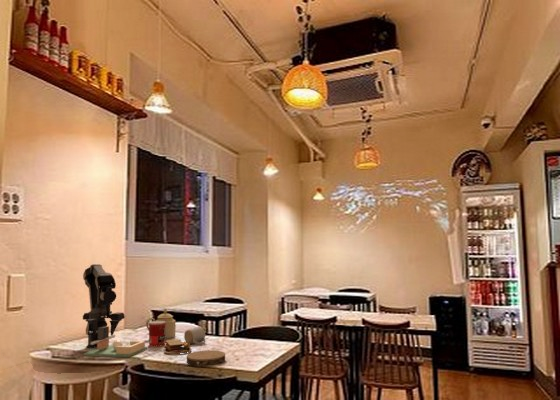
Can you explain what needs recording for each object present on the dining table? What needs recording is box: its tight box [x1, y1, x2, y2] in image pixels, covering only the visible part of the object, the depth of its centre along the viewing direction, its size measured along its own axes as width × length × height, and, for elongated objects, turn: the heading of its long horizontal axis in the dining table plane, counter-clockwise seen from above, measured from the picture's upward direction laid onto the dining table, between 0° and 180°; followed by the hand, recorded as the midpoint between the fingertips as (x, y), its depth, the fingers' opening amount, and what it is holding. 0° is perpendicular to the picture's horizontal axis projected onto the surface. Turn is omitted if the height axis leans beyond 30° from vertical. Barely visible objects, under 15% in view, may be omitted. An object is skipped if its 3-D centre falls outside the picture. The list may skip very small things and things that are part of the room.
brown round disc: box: [186, 349, 226, 367], centre depth 188 cm, size 16×16×3 cm
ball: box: [111, 339, 123, 350], centre depth 207 cm, size 4×4×4 cm
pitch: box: [83, 340, 148, 358], centre depth 207 cm, size 22×16×4 cm
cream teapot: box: [145, 308, 177, 340], centre depth 241 cm, size 15×11×15 cm
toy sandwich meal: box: [163, 339, 192, 355], centre depth 206 cm, size 12×14×5 cm
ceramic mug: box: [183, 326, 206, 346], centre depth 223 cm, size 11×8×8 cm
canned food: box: [148, 320, 166, 347], centre depth 223 cm, size 8×8×11 cm
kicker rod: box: [90, 325, 116, 350], centre depth 209 cm, size 3×17×10 cm, turn 167°
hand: (103, 334), depth 209 cm, fingers open, 9 cm apart
